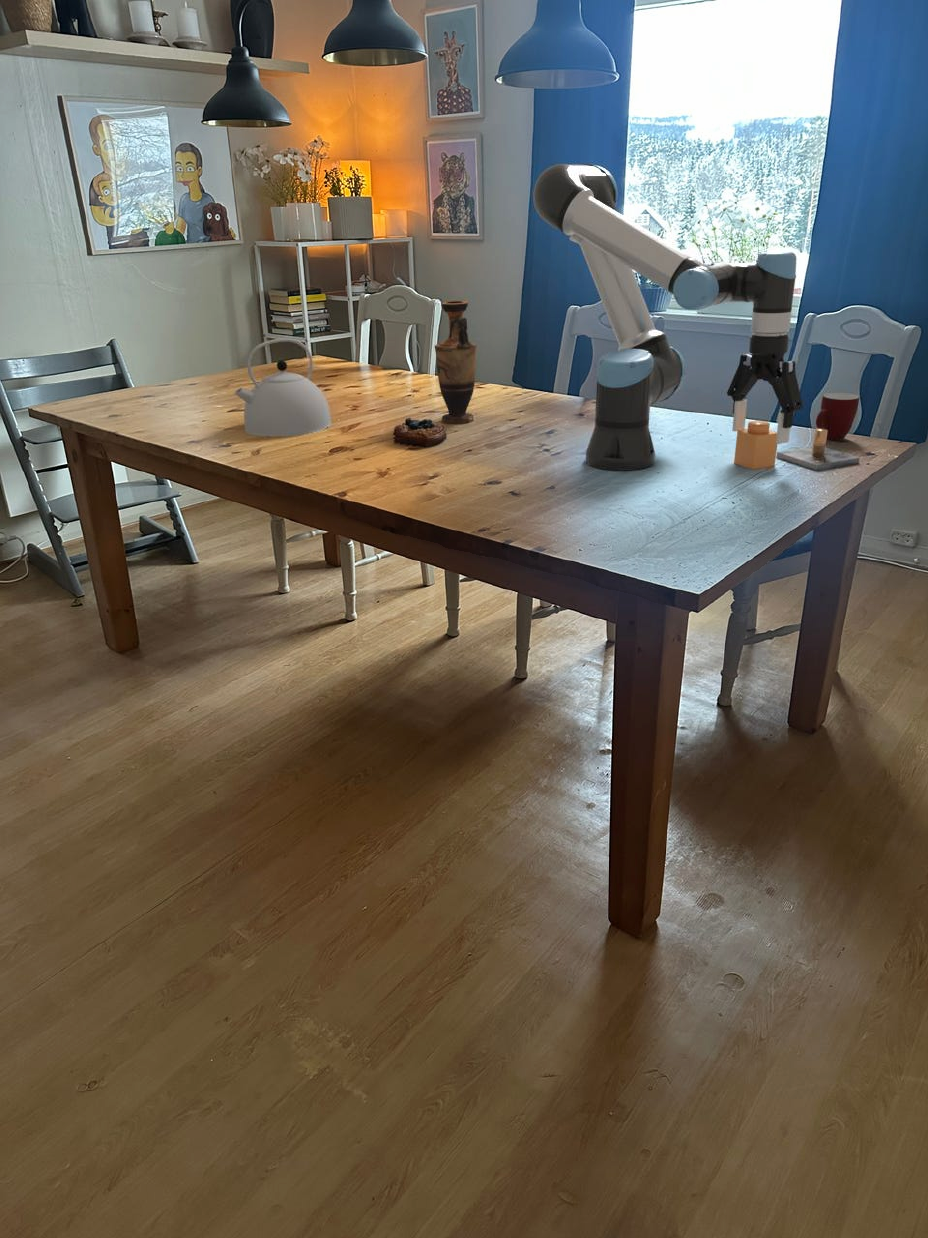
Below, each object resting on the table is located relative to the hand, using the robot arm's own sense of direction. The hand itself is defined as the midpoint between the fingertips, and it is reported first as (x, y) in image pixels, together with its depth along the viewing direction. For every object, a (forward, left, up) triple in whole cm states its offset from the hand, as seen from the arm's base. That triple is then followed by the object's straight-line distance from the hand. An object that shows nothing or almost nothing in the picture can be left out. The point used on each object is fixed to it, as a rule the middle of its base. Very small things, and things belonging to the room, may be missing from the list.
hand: (759, 436), depth 191 cm
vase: (-39, +71, -6) cm, 82 cm away
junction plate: (+14, -4, -6) cm, 16 cm away
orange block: (0, 0, -6) cm, 6 cm away
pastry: (-56, +56, -7) cm, 79 cm away
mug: (+30, +8, -6) cm, 32 cm away
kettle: (-82, +88, -7) cm, 121 cm away
